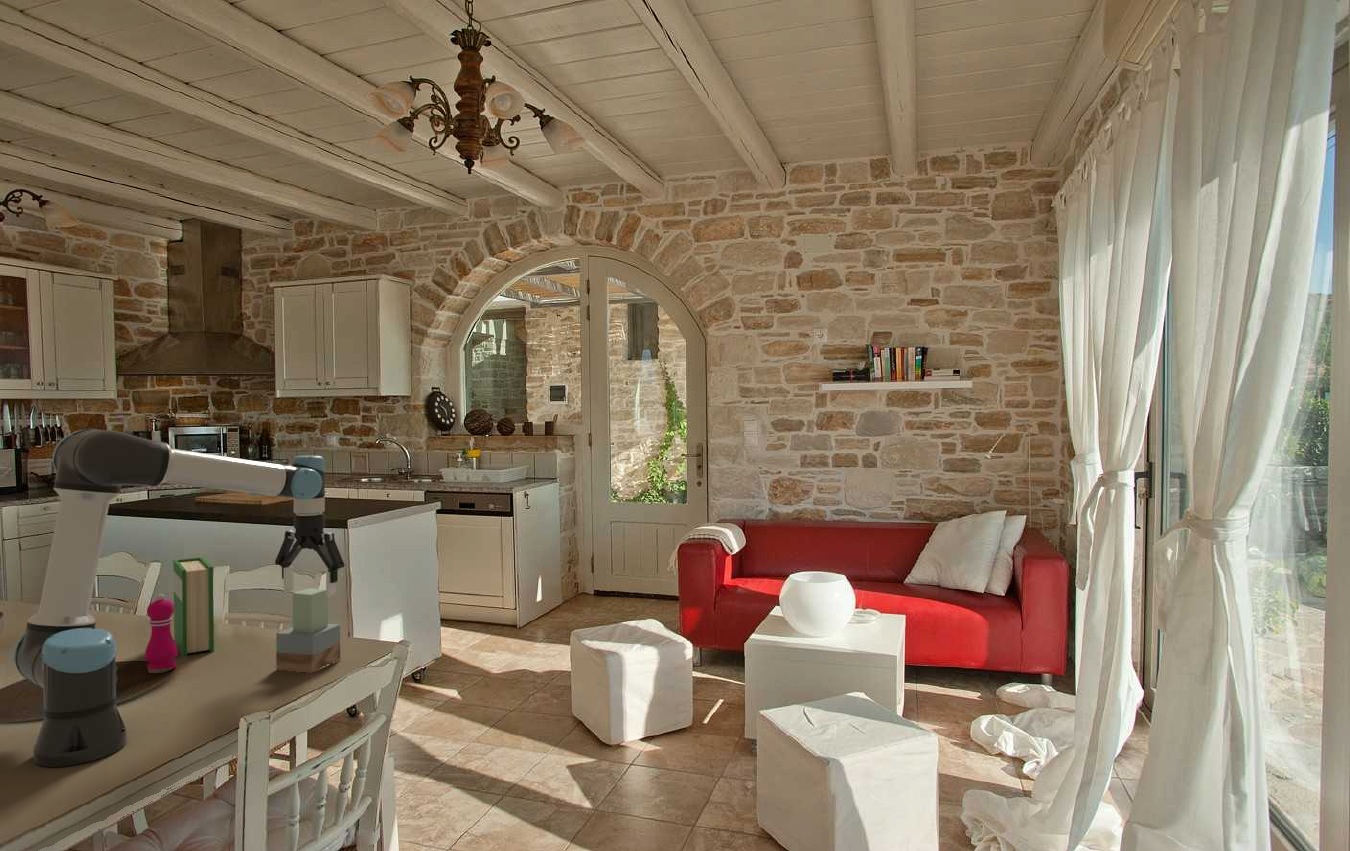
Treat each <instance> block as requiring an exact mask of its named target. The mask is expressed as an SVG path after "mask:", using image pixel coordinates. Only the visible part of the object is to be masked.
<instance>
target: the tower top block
mask: <svg viewBox="0 0 1350 851" xmlns="http://www.w3.org/2000/svg"><path fill="white" fill-rule="evenodd" d="M275 635H276V639H275V640H276V651H275V653H276V652H281V653H292V654H303V655H315V654H317V653H319V652H321V651H324V650H326V649H328V648H330V647H332V646H335V645H337V644H339V643H340V644H341V624H336V623H328V627H325V628H322V629H320V630H317V631H315V632H312V633H311V632H302V631H293V626H291V627H289V628H286V629H284V630H281V631H277V632H276V634H275Z"/></svg>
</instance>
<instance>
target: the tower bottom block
mask: <svg viewBox="0 0 1350 851" xmlns="http://www.w3.org/2000/svg"><path fill="white" fill-rule="evenodd" d="M275 654H276V655H275V656H276V657H275V658H276V659H275V660H276V663H275V664H276V665H275V666H276V668H275V669H276V671H283V670H285V671H284V672H291V671H296V672H295V673H300V672H306V673H305V674H308V673H312V672H315V671H317V670H318V669H320V668H322V667H323V666H326V665H327V664H331V663H333V662H336V661H338V660H340V661H341V642H340V643H339V644H337V645H335V646H332V647H330V648H328V649H326V650H324V651H321V652H319V653H317V654H315V655H303V654H292V653H281V652H276V651H275ZM336 663H337V662H336ZM277 669H278V670H277ZM317 672H318V671H317ZM315 673H316V672H315ZM312 674H313V673H312Z"/></svg>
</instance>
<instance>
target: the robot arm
mask: <svg viewBox="0 0 1350 851" xmlns="http://www.w3.org/2000/svg"><path fill="white" fill-rule="evenodd" d="M51 459H52V465H53V467H54V469H55V471H56V475H55V480H54V485H53V490H54V491H55V492H56V494H57V495H58V496H59V497H60V500H59V501H60V502H59V505H58V510H57V514H56V515H57V517H56V522H55V526H54V531H53V536H52V542H51V545H50V551H49V552H50V553H49V558H48V562H47V567H46V571H45V572H46V573H45V577H44V581H43V582H44V583H43V588H42V592H41V597H40V598H41V599H40V603H39V609H38V611H37V612H36V613H35V614H33V615H32V616H31V617H29V618H28V619H27V622H26V628H25V633H24V634H22V636H21V637H20V638H19V639H18V641H17V642H16V644H15V647H14V650H13V662H14V665H15V668H16V670H17V671H18V673H19V674H20V676H22V677H23V678H24V679H26V681H28V682H30V683H32V684H35V685H37V686H38V687H40V689H41V688H42V690H43V694H42V695H43V721H42V724H41V727H40V729H39V733H38V735H37V739H36V742H35V744H34V746H33V750H32V754H33V756H32V761H33V763H34V764H35V765H36V766H40V767H46V768H47V767H48V768H57V767H61V768H62V767H68V766H75V765H81V764H85V763H90V762H93V761H96V760H100V759H102V758H105V757H108V756H110V755H112V754H114V753H116V752H118V751H120V750H121V749H123V748H124V747H125V746H126V744H127V742H128V731H127V728H126V726H125V723H124V721H123V718H122V716H121V714H120V712H119V709H118V707H117V685H116V684H117V682H116V681H117V679H116V676H117V674H116V671H117V670H116V668H117V667H116V666H117V662H116V656H117V646H116V642H115V638H114V635H113V634H112V633H111V632H110V631H108V630H105V629H102V628H96V623H97V622H96V621H97V620H96V618H95V617H94V616H92V614H91V612H90V609H91V602H92V598H93V592H94V588H95V584H96V582H95V581H96V577H97V572H98V566H99V561H100V556H101V549H102V545H103V538H104V534H105V529H106V524H107V518H108V513H109V507H110V503H111V501H112V500H114V499H115V498H117V497H118V496H120V495H121V494H120V493H121V489H122V486H147V487H155V488H156V487H160V486H161V485H162V484H169V485H171V484H173V485H180V486H188V487H196V488H197V487H198V488H206V489H216V490H223V491H224V490H225V491H231V492H241V493H248V494H249V495H250V496H254V497H256V496H257V497H258V496H262V497H264V496H276V497H283V498H284V497H285V498H290V499H291V498H293V513H294V516H293V528H294V529H290V530H286V531H285V532H284V538H283V541H282V544H281V546H280V549H279V551H278V553H277V555H276V558H275V561H274V564H275V565H278V566H280V567H281V578H282V580H283V593H288V592H291V591H294V566H293V562H294V561H295V559H297V557H298V556H299V554H300V553H301V551H302V550H303V549H304V550H306V549H308V550H313V551H315V552H316V553H317V554H318V556H319V558H320V559H321V560H322V562H323V564H325V566H326V568H327V569H328V570H326V571H325V589H326V596H328V597H330V596H333V595H336V592H337V591H336V590H337V588H336V585H337V584H336V583H337V582H338V580H339V579H338V576H339V575H338V574H339V572H338V571H339V569H343V568H345V563H344V559H343V558H342V555H341V552H340V550H339V548H338V546H337V543H336V540H335V533H334V532H332V531H331V532H327V533H326V532H324V529H325V527H326V526H325V525H326V516H325V513H324V512H325V505H326V504H325V503H326V502H325V500H326V499H325V493H326V491H325V488H326V486H325V485H326V484H325V482H326V481H325V480H326V466H325V459H324V457H323V456H321V455H312V454H311V455H307V454H305V455H304V454H303V455H295V457H293V461H292V463H289V464H278V463H272V462H263V461H257V460H251V459H250V460H249V459H244V458H239V457H237V458H236V457H231V456H225V455H218V454H211V453H203V452H199V451H198V452H197V451H191V450H186V449H185V450H184V449H178V448H171V447H170V445H169V444H168V443H166V442H163V441H156V440H153V439H152V440H151V439H147V438H143V437H139V436H136V435H132V434H129V433H126V432H122V431H118V430H105V429H104V430H103V429H98V428H86V429H85V428H84V429H80V430H77V431H73V432H71V433H69V434H67V435H65V436H64V437H62V438H61V439H60V440H59V441H58V442H57V444H56V445H55V447H54V450H53V452H52V458H51ZM295 539H296V541H295Z"/></svg>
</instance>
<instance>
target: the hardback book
mask: <svg viewBox="0 0 1350 851" xmlns="http://www.w3.org/2000/svg"><path fill="white" fill-rule="evenodd" d="M172 565H173V566H172V567H173V605H174V612H173V630H174V631H173V632H174V634H173V635H174V636H173V637H174V638H173V640H174V641H175V643H176V646H177V650H178V652H180V654H181V656H182V658H186V657H188V654H191V653H197V652H203V651H204V652H205V651H209V653H214V652H215V639H214V638H215V635H214V634H215V633H214V632H215V631H214V630H215V625H214V624H215V622H214V617H215V616H214V566H213V565H212V564H210V563H209V562H208V561H207V559H205V558H204V557H203V556H201V557H191V558H181V559H173V562H172Z"/></svg>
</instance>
